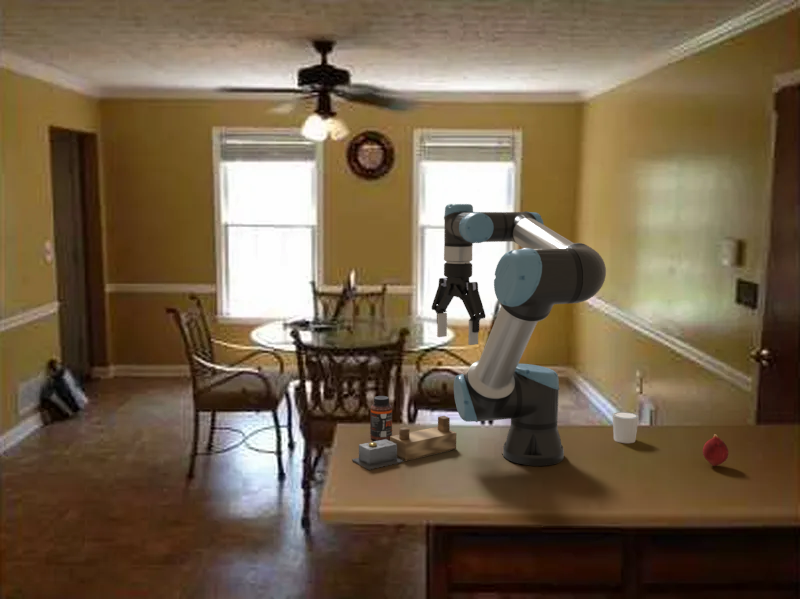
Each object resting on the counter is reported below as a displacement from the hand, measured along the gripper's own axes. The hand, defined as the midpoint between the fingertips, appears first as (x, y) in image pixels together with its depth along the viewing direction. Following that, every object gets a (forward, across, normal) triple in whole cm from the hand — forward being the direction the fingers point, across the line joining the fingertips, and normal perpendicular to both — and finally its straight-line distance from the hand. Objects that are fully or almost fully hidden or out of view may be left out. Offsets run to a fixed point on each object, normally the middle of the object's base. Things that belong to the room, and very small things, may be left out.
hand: (457, 340), depth 209 cm
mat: (+27, -6, +29) cm, 40 cm away
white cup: (+27, -28, -36) cm, 53 cm away
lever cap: (+26, -6, +29) cm, 40 cm away
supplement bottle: (+27, +10, +18) cm, 34 cm away
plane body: (+27, -6, +15) cm, 31 cm away
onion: (+27, -54, -38) cm, 71 cm away
